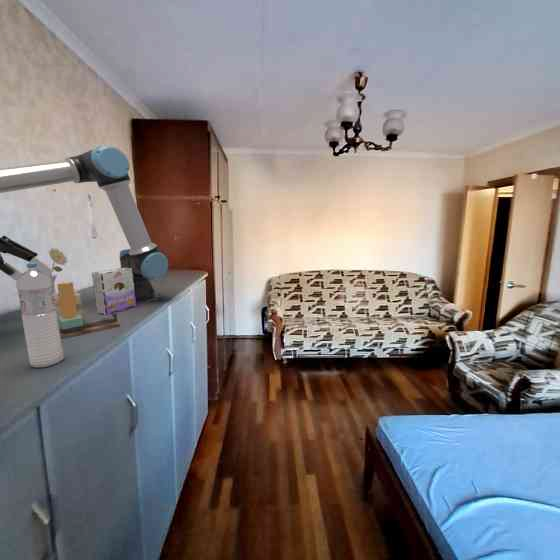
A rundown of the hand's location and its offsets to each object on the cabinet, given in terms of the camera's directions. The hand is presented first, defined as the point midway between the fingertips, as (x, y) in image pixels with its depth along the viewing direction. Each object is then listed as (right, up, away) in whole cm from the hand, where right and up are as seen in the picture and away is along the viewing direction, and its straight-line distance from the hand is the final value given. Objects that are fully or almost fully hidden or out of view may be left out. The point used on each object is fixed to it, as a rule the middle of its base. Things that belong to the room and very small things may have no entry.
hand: (39, 276), depth 92 cm
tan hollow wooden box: (-3, -16, +17) cm, 23 cm away
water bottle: (+15, -22, -16) cm, 31 cm away
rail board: (+10, -17, +8) cm, 21 cm away
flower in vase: (-21, -13, +35) cm, 43 cm away
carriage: (+7, -15, +5) cm, 17 cm away
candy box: (+7, -13, +32) cm, 35 cm away
